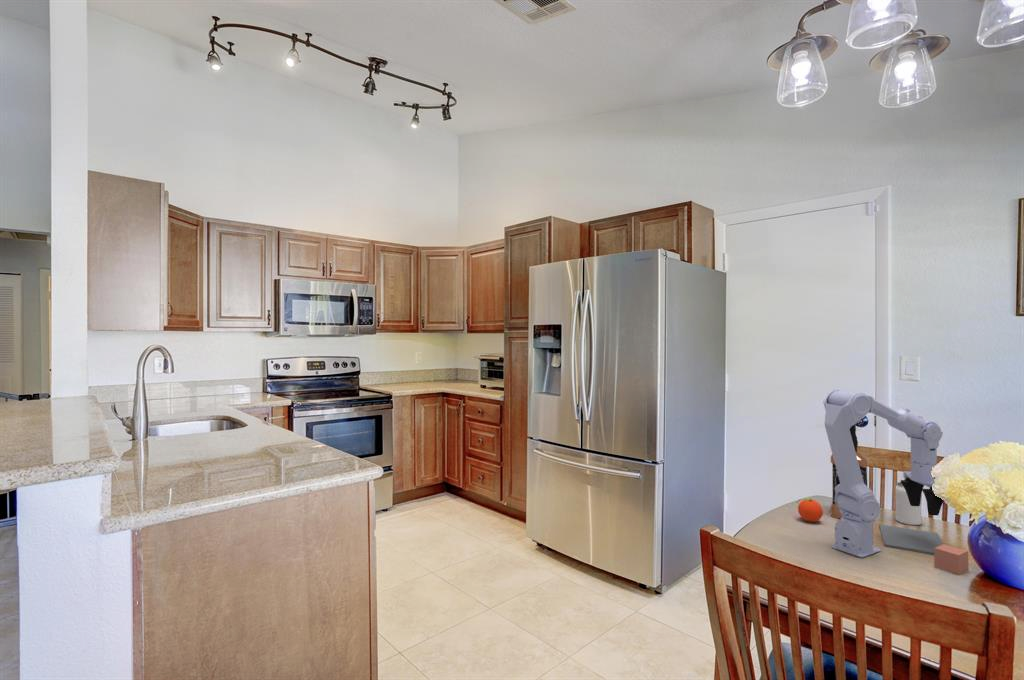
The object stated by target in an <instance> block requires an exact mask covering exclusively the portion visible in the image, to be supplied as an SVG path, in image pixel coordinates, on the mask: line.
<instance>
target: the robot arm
mask: <svg viewBox="0 0 1024 680" xmlns="http://www.w3.org/2000/svg"><path fill="white" fill-rule="evenodd" d="M823 406H824V410H825V415H824V416H825V417H824V427H825V428H824V429H825V432H826V435H827V439H828V442H829V446H830V449H831V450H830V451H831V453H832V454H833V458H834V462H835V465H836V469H837V473H838V477H839V480H840V484H838V485H837V486H836V487H835V492H836V495H835V504H836V506H837V507H838V508H839V509H840V513H841V514H842V517H841V518H840V520H838V521H837V522H836V523H835V525H834V544H833V545H831V548H833V549H836V550H839V551H842V552H845V553H847V554H850V555H853V556H856V557H858V558H865V557H868V556H870V555H874V554H876V553H879V552H881V549H880V548H879V547H875V546H874V522H875V521H876V519H878V518H879V516H880V514H881V504H880V502H879V501H878V500H877V499H876V498H875V494H874V492H873V491H872V490H871V488H870V487H869V486H868V485H867V486H866V485H865V484H864V482H863V478H862V474H861V470H860V467H859V463H858V459H857V456H856V452H855V448H854V444H853V441H852V437H851V433H850V428H851V426H853V425H855V424H856V425H857V423H858V422H860V420H862V419H863V418H864V417H866V416H867V414H873V415H876V416H878V417H880V418H882V419H886V421H887V424H888V425H889V427H892V428H893V429H896V430H898V431H900V432H902V433H904V434H905V435H906V436H907V438H910V470H909V471H906V470H905V471H903V473H902V474H903V479H901V480H900V482H901V483H902V485H903V487H904V488H905V490H906V493H907V496H908V499H909V503H910V505H911V506H920V502H921V503H922V492H923V495H924V497H925V501H926V508H927V513H928V515H929V516H939V515H940V511H941V509H942V505H943V503H944V501H945V500H944V501H943V500H942V499H941V498H939V497H937V496H935V494H934V493H933V491H932V485H933V483H934V478H933V477H932V475H931V471H932V467H934V466H935V465H938V464H937V463H938V462H937V461H938V457H937V453H938V451H937V450H938V448H939V446H940V445H939V444H940V441H941V439H942V437H943V435H944V433H943V431H942V429H941V427H940V426H939V424H937V423H936V422H934V421H930V420H925V419H924V417H923V416H922V415H916V414H914V413H912V412H910V411H911V410H910V409H908V408H904V407H902V408H895V409H894V408H893V407H890V406H889V405H886V404H885V403H883V402H881V401H879V400H877V399H875V398H874V397H873V396H872V395H867V394H865V393H863V392H850V391H842V390H838V389H833V390H832V391H830V392H829V393H828V394H827V396H826V397H825V399H824V400H823ZM832 454H831V455H832ZM925 486H926V487H927V488H924V487H925Z"/></svg>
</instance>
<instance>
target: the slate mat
mask: <svg viewBox="0 0 1024 680" xmlns="http://www.w3.org/2000/svg"><path fill="white" fill-rule="evenodd" d="M879 529H880V534H881V537H882V542H883V546H884V547H886V548H887V547H888V548H894V549H898V550H904V551H911V552H917V553H922V554H929V555H934V548H935V547H938V546H940V545H943V544H944V542H943V540H942V539H941V537H940V535H939V533H938V532H931V531H925V530H921V529H914V528H907V527H899V526H894V525H887V524H881V523H880V524H879Z"/></svg>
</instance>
